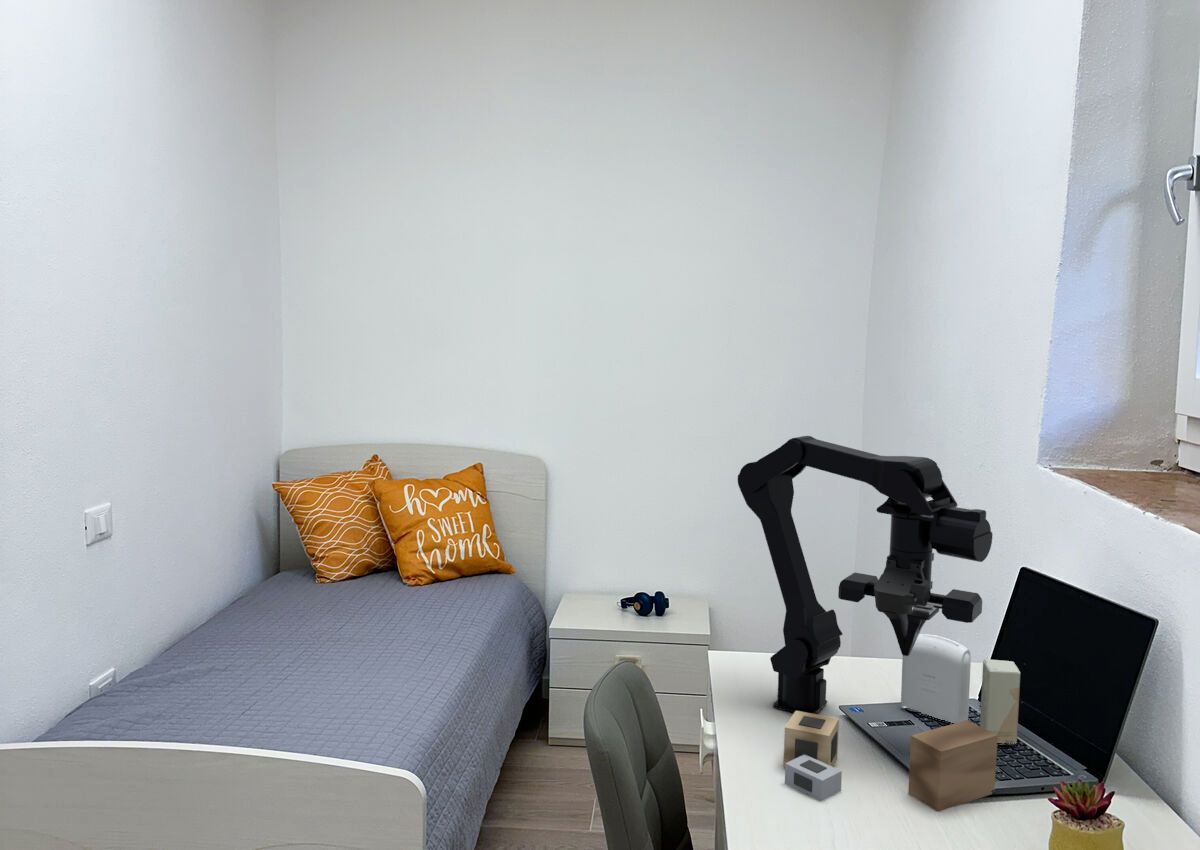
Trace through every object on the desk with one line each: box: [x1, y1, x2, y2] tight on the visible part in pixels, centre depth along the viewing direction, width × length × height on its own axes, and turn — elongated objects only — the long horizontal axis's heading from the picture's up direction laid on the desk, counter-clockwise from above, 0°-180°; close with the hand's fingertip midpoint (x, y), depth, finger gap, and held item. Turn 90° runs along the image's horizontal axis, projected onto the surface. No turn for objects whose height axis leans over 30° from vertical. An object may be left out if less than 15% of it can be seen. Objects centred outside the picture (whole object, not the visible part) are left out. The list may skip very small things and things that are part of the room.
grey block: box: [784, 754, 843, 802], centre depth 128 cm, size 6×4×3 cm
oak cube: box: [782, 711, 840, 770], centre depth 134 cm, size 6×6×6 cm
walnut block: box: [907, 719, 998, 813], centre depth 126 cm, size 5×10×8 cm, turn 118°
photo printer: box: [900, 633, 972, 724], centre depth 150 cm, size 10×4×12 cm, turn 47°
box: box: [979, 658, 1021, 744], centre depth 142 cm, size 5×4×11 cm
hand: (906, 654), depth 140 cm, fingers closed
